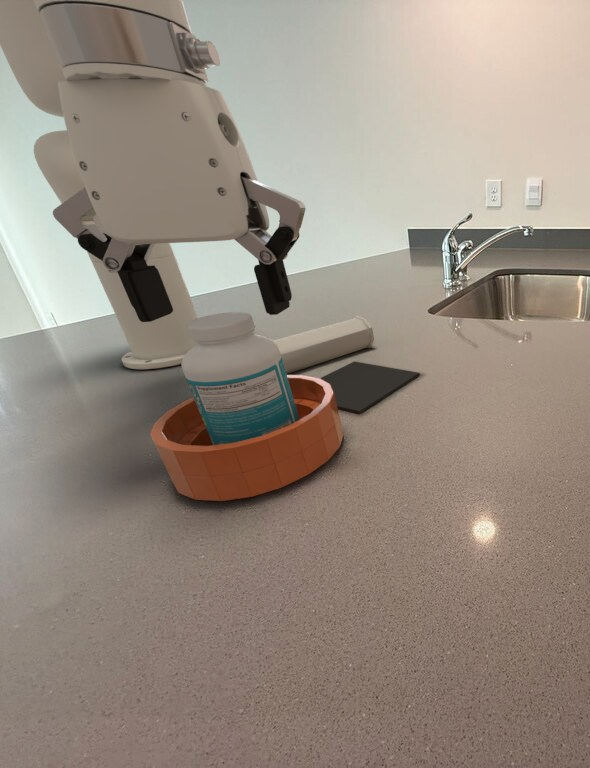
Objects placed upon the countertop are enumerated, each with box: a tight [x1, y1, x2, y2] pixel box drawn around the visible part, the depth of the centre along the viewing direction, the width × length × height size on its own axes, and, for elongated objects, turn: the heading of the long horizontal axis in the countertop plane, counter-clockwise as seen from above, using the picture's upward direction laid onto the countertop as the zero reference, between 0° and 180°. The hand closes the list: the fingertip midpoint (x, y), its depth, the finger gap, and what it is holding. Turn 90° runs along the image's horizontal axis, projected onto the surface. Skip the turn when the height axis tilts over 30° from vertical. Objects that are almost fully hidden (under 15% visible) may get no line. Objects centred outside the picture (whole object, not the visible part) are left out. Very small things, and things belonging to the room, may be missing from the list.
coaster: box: [319, 361, 421, 415], centre depth 55 cm, size 12×12×1 cm
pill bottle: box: [180, 311, 300, 445], centre depth 38 cm, size 8×7×14 cm
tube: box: [272, 315, 375, 375], centre depth 60 cm, size 5×5×25 cm
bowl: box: [149, 374, 344, 502], centre depth 39 cm, size 15×15×6 cm
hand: (219, 314), depth 34 cm, fingers open, 9 cm apart
